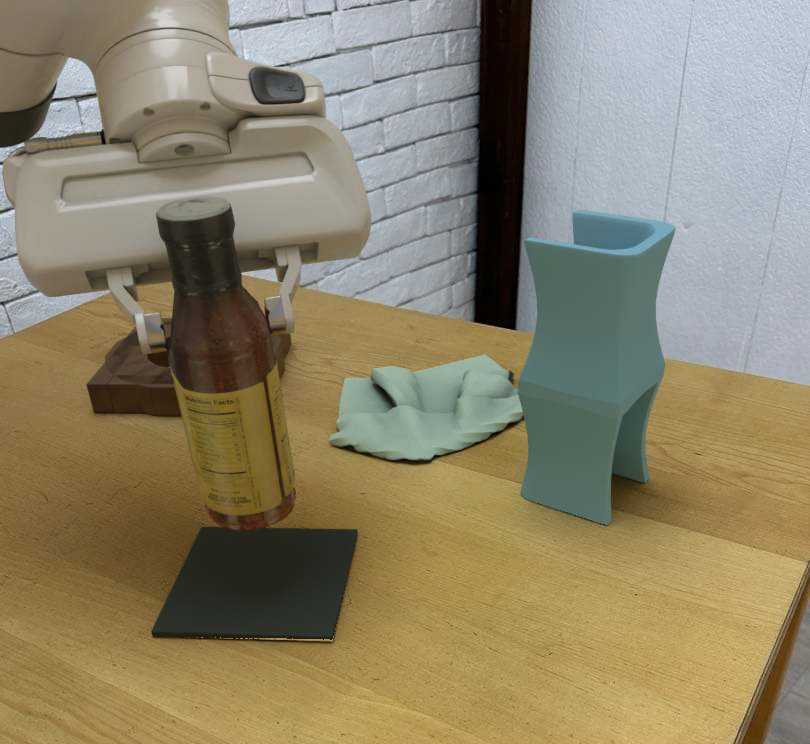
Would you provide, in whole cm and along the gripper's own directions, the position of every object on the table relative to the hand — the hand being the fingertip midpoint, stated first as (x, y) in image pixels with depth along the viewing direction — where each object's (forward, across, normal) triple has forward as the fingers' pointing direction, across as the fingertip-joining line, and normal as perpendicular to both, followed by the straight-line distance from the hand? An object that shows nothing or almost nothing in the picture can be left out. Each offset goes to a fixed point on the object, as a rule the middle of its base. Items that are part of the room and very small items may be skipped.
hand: (220, 340), depth 52 cm
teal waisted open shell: (+10, +26, +17) cm, 32 cm away
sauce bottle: (+8, 0, +9) cm, 13 cm away
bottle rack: (-13, -2, +39) cm, 41 cm away
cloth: (-3, +20, +29) cm, 35 cm away
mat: (+13, 0, +13) cm, 18 cm away
